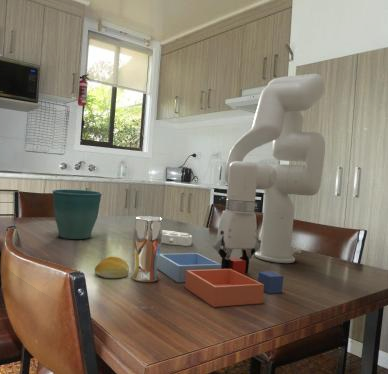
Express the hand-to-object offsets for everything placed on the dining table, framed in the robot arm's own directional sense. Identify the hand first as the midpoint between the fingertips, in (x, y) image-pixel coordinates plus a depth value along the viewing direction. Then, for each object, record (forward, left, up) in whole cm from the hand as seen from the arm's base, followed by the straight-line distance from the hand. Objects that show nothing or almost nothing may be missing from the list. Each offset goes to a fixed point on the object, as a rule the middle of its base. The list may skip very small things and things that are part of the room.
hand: (234, 272), depth 102 cm
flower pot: (+34, -52, -1) cm, 62 cm away
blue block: (0, +14, 0) cm, 14 cm away
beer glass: (+27, +1, -1) cm, 27 cm away
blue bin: (+14, -1, 0) cm, 14 cm away
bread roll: (+34, -4, -1) cm, 34 cm away
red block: (0, 0, 0) cm, 0 cm away
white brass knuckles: (-1, -43, -1) cm, 43 cm away
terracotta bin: (+14, +15, 0) cm, 21 cm away
